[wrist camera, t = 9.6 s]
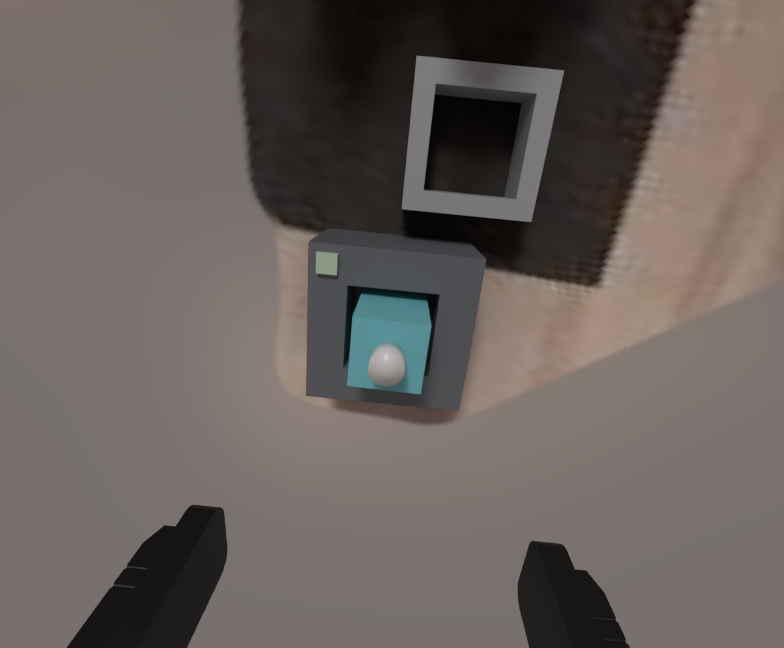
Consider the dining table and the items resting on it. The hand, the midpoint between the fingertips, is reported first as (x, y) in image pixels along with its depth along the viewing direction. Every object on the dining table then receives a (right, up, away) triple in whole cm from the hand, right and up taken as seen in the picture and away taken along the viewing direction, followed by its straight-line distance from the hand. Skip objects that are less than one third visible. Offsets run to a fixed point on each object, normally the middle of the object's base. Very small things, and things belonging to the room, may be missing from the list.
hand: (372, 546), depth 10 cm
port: (+1, +7, +19) cm, 20 cm away
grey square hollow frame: (+6, +17, +15) cm, 24 cm away
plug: (+1, +7, +18) cm, 19 cm away
